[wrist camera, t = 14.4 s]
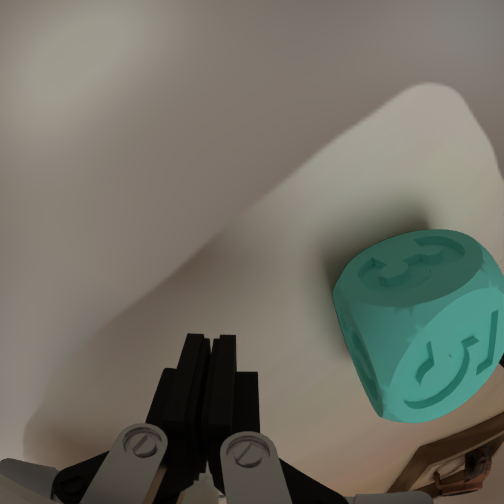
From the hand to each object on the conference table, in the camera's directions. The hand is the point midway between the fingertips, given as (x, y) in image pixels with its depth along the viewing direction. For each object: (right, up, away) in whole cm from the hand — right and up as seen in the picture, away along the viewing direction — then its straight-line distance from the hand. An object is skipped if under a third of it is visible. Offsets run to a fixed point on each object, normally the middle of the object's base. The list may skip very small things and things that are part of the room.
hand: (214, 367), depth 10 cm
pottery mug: (+32, -26, +16) cm, 44 cm away
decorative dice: (+11, +1, +8) cm, 13 cm away
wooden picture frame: (+29, -26, +16) cm, 42 cm away
